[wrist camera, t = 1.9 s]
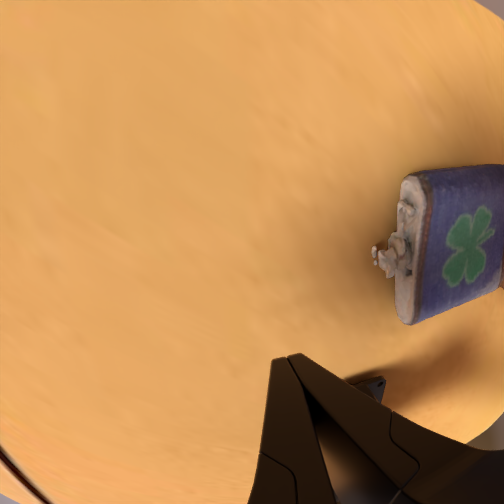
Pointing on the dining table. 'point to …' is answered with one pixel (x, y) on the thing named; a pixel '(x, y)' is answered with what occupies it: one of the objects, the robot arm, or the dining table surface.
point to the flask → (446, 240)
